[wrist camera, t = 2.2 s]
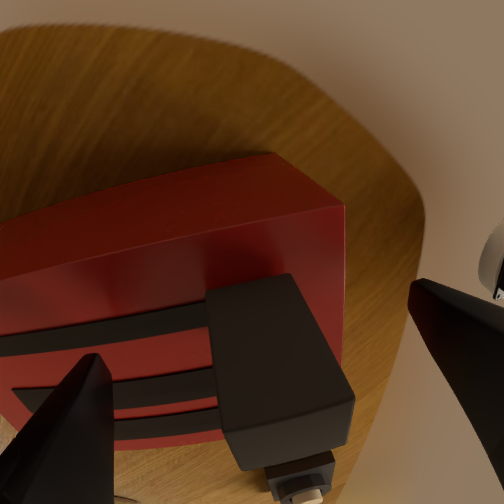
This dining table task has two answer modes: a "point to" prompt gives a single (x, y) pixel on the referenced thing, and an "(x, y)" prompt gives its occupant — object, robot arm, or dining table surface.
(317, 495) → the button
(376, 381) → the dining table surface
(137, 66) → the dining table surface
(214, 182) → the toaster
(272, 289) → the slider
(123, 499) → the bread roll
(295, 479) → the block
